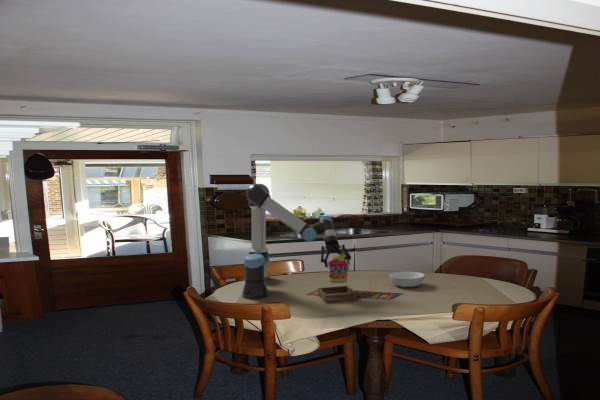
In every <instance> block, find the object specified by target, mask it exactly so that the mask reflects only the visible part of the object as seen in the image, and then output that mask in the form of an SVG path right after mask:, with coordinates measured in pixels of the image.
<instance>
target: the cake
mask: <svg viewBox="0 0 600 400" xmlns="http://www.w3.org/2000/svg"><path fill="white" fill-rule="evenodd" d="M345 257H346V255H344V254H341V255H334V256H333V257H332V260H330V261H328V262H329V266H330V273H328V277H329V282H330V283H333V284H344V283H346V282H348V272H347V262H346V261H345V259H344V258H345Z"/></svg>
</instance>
